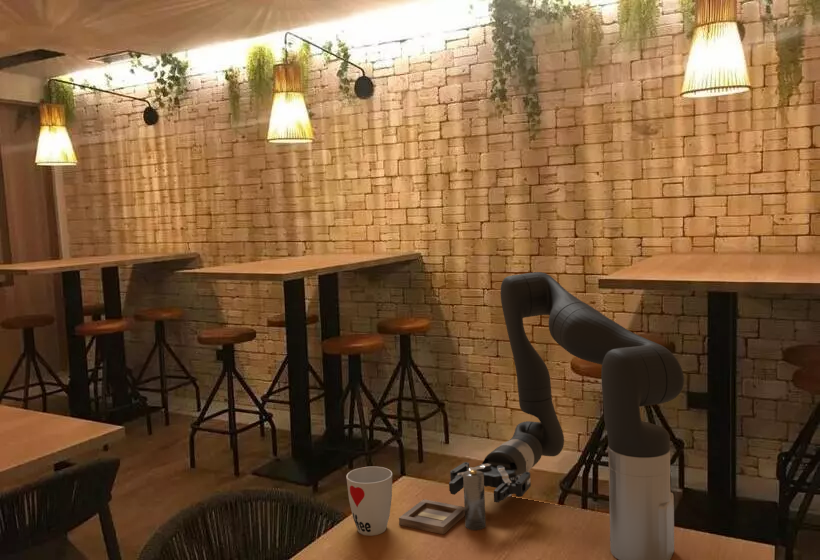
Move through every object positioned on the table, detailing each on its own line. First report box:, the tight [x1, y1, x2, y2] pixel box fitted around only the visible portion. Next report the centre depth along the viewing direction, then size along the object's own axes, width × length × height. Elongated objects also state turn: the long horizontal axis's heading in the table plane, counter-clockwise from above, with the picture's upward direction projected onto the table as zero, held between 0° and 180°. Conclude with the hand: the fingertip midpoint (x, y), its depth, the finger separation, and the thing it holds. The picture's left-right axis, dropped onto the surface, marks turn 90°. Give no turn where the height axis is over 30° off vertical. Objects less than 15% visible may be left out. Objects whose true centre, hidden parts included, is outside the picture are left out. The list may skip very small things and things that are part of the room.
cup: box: [345, 466, 393, 536], centre depth 122 cm, size 8×8×10 cm
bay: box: [398, 498, 465, 535], centre depth 126 cm, size 9×9×1 cm
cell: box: [463, 470, 487, 531], centre depth 122 cm, size 4×4×10 cm
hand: (473, 493), depth 122 cm, fingers open, 8 cm apart
